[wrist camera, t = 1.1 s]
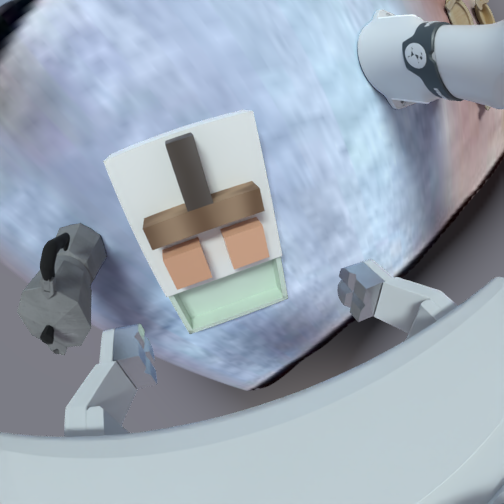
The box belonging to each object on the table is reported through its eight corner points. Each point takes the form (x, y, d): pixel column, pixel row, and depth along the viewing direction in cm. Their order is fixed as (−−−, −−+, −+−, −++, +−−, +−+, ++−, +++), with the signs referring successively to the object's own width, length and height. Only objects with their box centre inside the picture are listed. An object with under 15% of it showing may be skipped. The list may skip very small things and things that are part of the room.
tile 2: (198, 236, 35) (200, 246, 33) (209, 266, 38) (212, 277, 36) (162, 249, 34) (162, 260, 32) (175, 278, 37) (177, 289, 35)
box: (271, 241, 44) (279, 252, 41) (280, 286, 50) (288, 298, 47) (165, 279, 42) (166, 292, 39) (187, 320, 48) (189, 334, 45)
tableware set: (507, 86, 41) (517, 89, 38) (477, 120, 45) (489, 124, 41) (472, -15, 21) (483, -15, 18) (432, -9, 25) (446, -10, 21)
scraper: (237, 118, 29) (244, 120, 26) (256, 202, 35) (264, 211, 33) (120, 158, 27) (115, 164, 24) (152, 238, 33) (152, 250, 31)
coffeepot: (104, 289, 40) (91, 383, 25) (53, 280, 36) (22, 368, 21) (115, 200, 33) (85, 279, 19) (54, 189, 29) (-7, 258, 15)
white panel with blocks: (242, 109, 32) (252, 111, 29) (271, 241, 44) (282, 255, 41) (110, 154, 30) (103, 161, 26) (165, 279, 42) (166, 297, 38)
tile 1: (256, 216, 36) (262, 224, 34) (263, 247, 39) (269, 256, 37) (220, 229, 35) (224, 238, 33) (229, 259, 38) (234, 269, 36)
